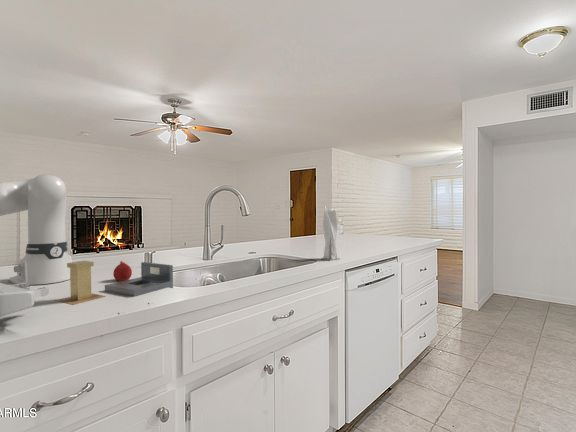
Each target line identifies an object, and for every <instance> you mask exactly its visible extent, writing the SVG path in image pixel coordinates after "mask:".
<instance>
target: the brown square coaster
mask: <svg viewBox="0 0 576 432" xmlns="http://www.w3.org/2000/svg"><path fill="white" fill-rule="evenodd" d="M106 297H107V296H106V295H102V294H98V293H97V294H96V293H93V292H91V298H87V299H83V300H79V301H77V300H72V299H71V296H68V297H64V298H58V299H54V301H55V302H59V303H64V304H67V305H71V306H73V305H74V306H75V305H78V304H82V303H86V302H89V301H90V302H91V301H95V300H99V299H102V298H106Z"/></svg>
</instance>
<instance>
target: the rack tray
mask: <svg viewBox="0 0 576 432" xmlns="http://www.w3.org/2000/svg"><path fill="white" fill-rule="evenodd" d="M140 265H141V268H140V269H141V270H140V273H141V275H140V277H136V278H132V279H131V278H129V280H126V281H117V282H112V283H109V284H108V283H107V284H104V292H108V293H113V294H118V295H123V296H129V297H139V296H142V295H146V294H149V293H152V292H157V291H161V290H163V289H168V288H169V289H173V288H174V275H173V274H174V273H173V272H174V271H173V270H174V269H173V268H174V266H173V265H172V264H164V263H157V262H156V263H155V262H148V261H147V262H146V261H144V262H143V261H142V262H141V263H140Z"/></svg>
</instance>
